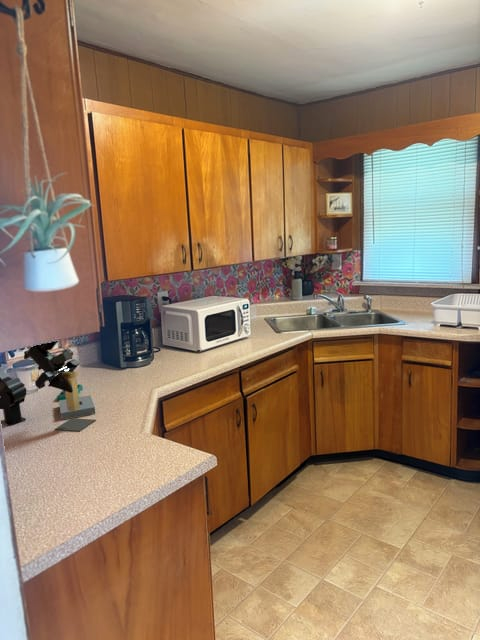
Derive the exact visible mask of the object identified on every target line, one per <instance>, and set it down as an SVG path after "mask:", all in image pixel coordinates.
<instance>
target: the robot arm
mask: <svg viewBox="0 0 480 640" xmlns="http://www.w3.org/2000/svg"><path fill="white" fill-rule="evenodd" d="M58 343H59V341H56V342H52V343H47V344H41V345H37V346H33V347H31V346H30V347H29V349H28V350H25V351H23V353H24V356H23V359H24V360H29V359H32V361H33V362H35V364H36V365H37V366H38V367H37V369H38V370H39V371H40V370H42V371H43V372H42V373H40V375H39V376H38V377H37V378H36V380H35V381H34V382H35V383H34V384H35V387H36V388H38V390H41V389H43V388H45V386H46V382H48V384H47V386H48V387H52V388H55V389H59V390H61V391H62V390H64V391H67V392H70V393H72V392H73V390H72V388H71V387H70V386H69V385H68V384H67V382H66V381H65V380H64V377H63V375H62V373H63V372H75V370H76V369H77V368H78V367H79V365H80V362H79V361H78V360H77V359H75V358H74V357H73V356H74V351H72V350H71V349H70V348H65V349H63V350H62V352H61V353H59V354H56V353H54V354H52V353H51V352H50V351H52V350H53V349H54V348H55V346H56V345H57V344H58ZM24 349H26V348H24ZM24 349H23V350H24ZM78 385H79V384H77V386H78ZM25 386H26V384H25V383H23V382H22V381H21V379H20V378H19V377H14V378H12V377H10V376H9V375H8V373H7V372H5V370H3V368H2V367H1V366H0V410H2V411H3V418H4V419H2V420H0V423H2V424H5V425H6V424H7V426H12V425H15V424H18V423H20V422H24V421H26V418H25V417H23V416H22V413H21V412H22V411H21V404H22V403H24V402H25V399H26V397H27V388H26V387H25ZM78 388H79V387H78Z"/></svg>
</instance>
